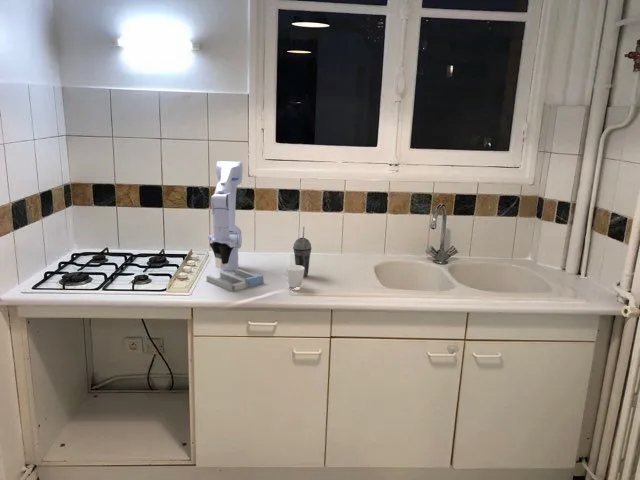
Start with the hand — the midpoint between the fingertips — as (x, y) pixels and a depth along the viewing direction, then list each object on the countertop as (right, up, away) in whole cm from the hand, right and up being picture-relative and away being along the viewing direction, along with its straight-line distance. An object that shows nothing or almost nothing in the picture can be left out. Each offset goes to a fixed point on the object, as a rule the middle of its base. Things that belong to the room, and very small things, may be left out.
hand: (222, 262), depth 197 cm
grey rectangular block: (0, -1, 0) cm, 2 cm away
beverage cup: (+29, -6, +14) cm, 33 cm away
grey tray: (+4, -8, +2) cm, 10 cm away
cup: (+27, -9, +1) cm, 29 cm away
